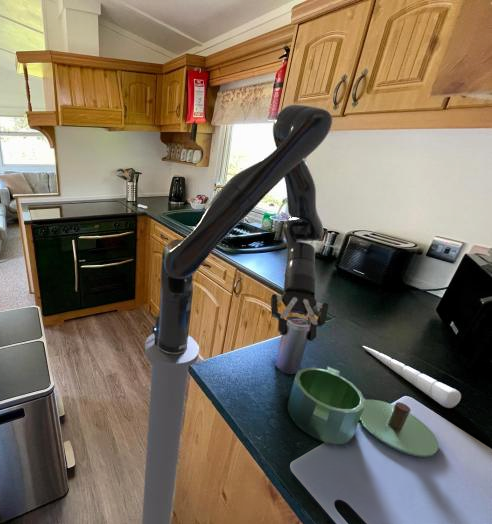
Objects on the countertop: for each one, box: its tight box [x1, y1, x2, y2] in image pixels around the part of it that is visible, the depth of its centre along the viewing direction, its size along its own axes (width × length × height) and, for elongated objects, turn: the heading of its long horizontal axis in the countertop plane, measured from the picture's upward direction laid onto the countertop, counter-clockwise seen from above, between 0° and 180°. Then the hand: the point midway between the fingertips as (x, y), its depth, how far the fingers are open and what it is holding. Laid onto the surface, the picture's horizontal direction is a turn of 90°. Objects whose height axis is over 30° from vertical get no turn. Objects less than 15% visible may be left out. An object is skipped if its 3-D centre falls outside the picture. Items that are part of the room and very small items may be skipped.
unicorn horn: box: [362, 345, 462, 409], centre depth 78 cm, size 5×24×5 cm, turn 6°
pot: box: [287, 366, 366, 445], centre depth 63 cm, size 13×18×8 cm
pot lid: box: [359, 399, 439, 458], centre depth 61 cm, size 14×14×6 cm
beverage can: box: [274, 314, 311, 375], centre depth 77 cm, size 6×6×15 cm
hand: (296, 336), depth 74 cm, fingers closed on beverage can, 6 cm apart
